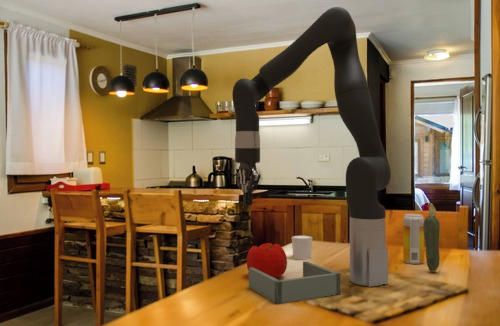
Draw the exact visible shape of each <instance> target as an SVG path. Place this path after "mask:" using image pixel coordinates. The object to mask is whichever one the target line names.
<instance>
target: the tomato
mask: <svg viewBox="0 0 500 326" xmlns="http://www.w3.org/2000/svg"><path fill="white" fill-rule="evenodd" d="M287 258H288V257H287V255H286V252H285V250H284V248H283V247H282V246H281V244H279V243H274V244H272V243H271V242H270V243H269V242H268V243H267V242H266V243H264V244H261V245H259V246H257V245H252V246H251V248H249V250H248V252H247V256H246V267H247V271H248V272H249V268H255V269H257V270H259V271H261V272H263V273H265V274H267V275H269V276H271V277H274V278H276V279H277V278H279V277H281V276H282V275H284V273H286V271H287V266H288V259H287Z"/></svg>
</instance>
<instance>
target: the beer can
mask: <svg viewBox="0 0 500 326" xmlns="http://www.w3.org/2000/svg"><path fill="white" fill-rule="evenodd" d="M402 220H403V227H402V228H403V230H402V231H403V234H402V235H403V240H402V241H403V245H402V247H403V254H402V255H403V256H402V257H403V261H404V262H405V264H410V265H421V264H423V262H424V260H425V259H424V258H425V237H424V229H423V224H424V220H425V218H424V216H423V214H419V213H405V214H404V216H403V219H402Z"/></svg>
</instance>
